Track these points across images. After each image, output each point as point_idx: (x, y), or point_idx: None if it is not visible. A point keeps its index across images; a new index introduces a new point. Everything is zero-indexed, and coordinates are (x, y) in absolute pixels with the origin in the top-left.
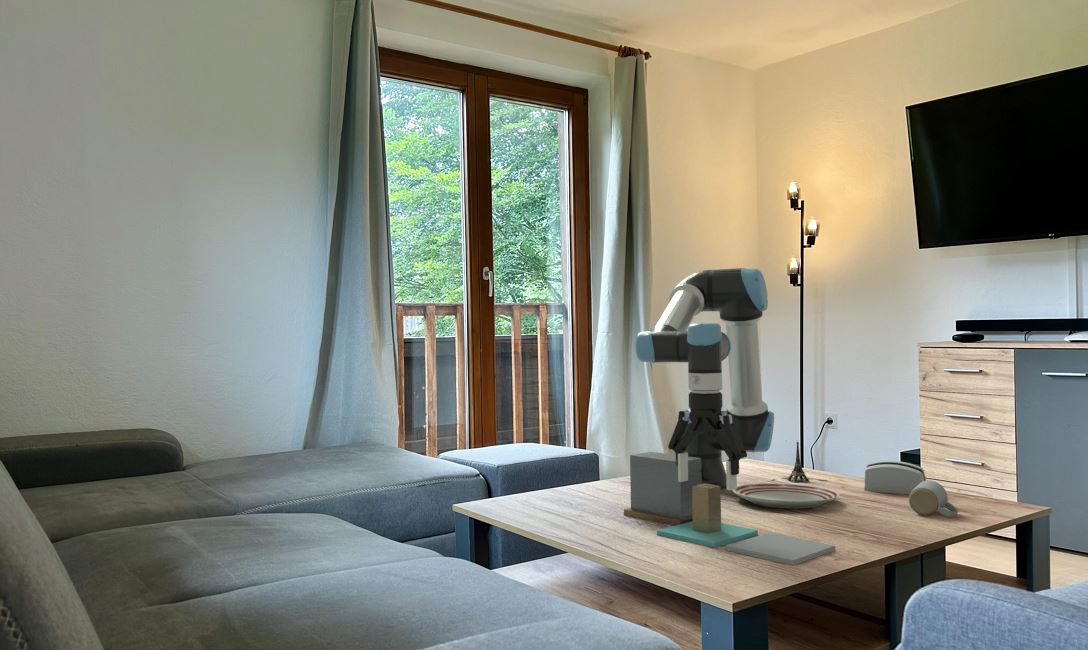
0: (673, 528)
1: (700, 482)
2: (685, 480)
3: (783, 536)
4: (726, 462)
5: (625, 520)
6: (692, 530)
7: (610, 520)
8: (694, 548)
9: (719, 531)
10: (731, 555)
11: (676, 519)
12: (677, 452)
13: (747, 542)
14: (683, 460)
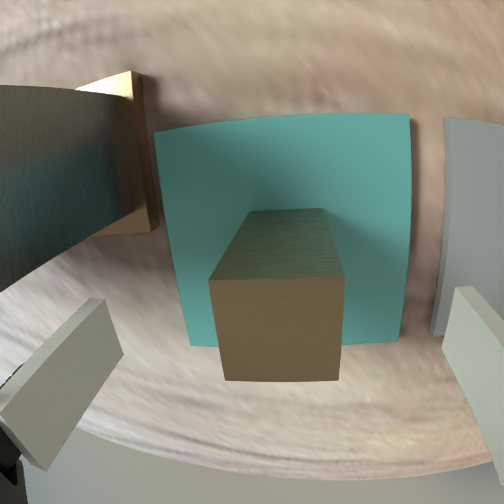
0: (200, 301)
1: (40, 94)
2: (110, 322)
3: (498, 135)
4: (499, 474)
5: (42, 276)
6: None
7: (34, 299)
8: (359, 368)
9: (329, 226)
10: None
11: (132, 228)
12: (21, 463)
13: (463, 273)
14: (53, 416)
